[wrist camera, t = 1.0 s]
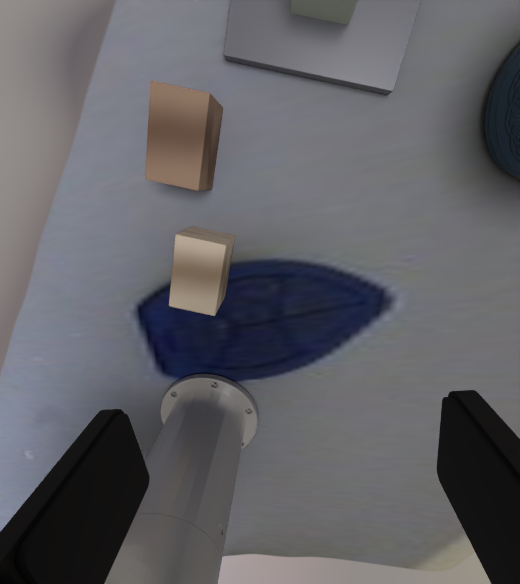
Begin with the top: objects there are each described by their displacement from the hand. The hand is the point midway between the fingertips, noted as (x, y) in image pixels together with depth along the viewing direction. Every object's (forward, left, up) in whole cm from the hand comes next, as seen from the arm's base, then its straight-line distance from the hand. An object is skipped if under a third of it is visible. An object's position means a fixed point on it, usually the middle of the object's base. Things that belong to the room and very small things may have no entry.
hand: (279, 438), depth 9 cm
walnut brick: (+8, +11, -24) cm, 27 cm away
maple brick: (-3, +8, -24) cm, 25 cm away
